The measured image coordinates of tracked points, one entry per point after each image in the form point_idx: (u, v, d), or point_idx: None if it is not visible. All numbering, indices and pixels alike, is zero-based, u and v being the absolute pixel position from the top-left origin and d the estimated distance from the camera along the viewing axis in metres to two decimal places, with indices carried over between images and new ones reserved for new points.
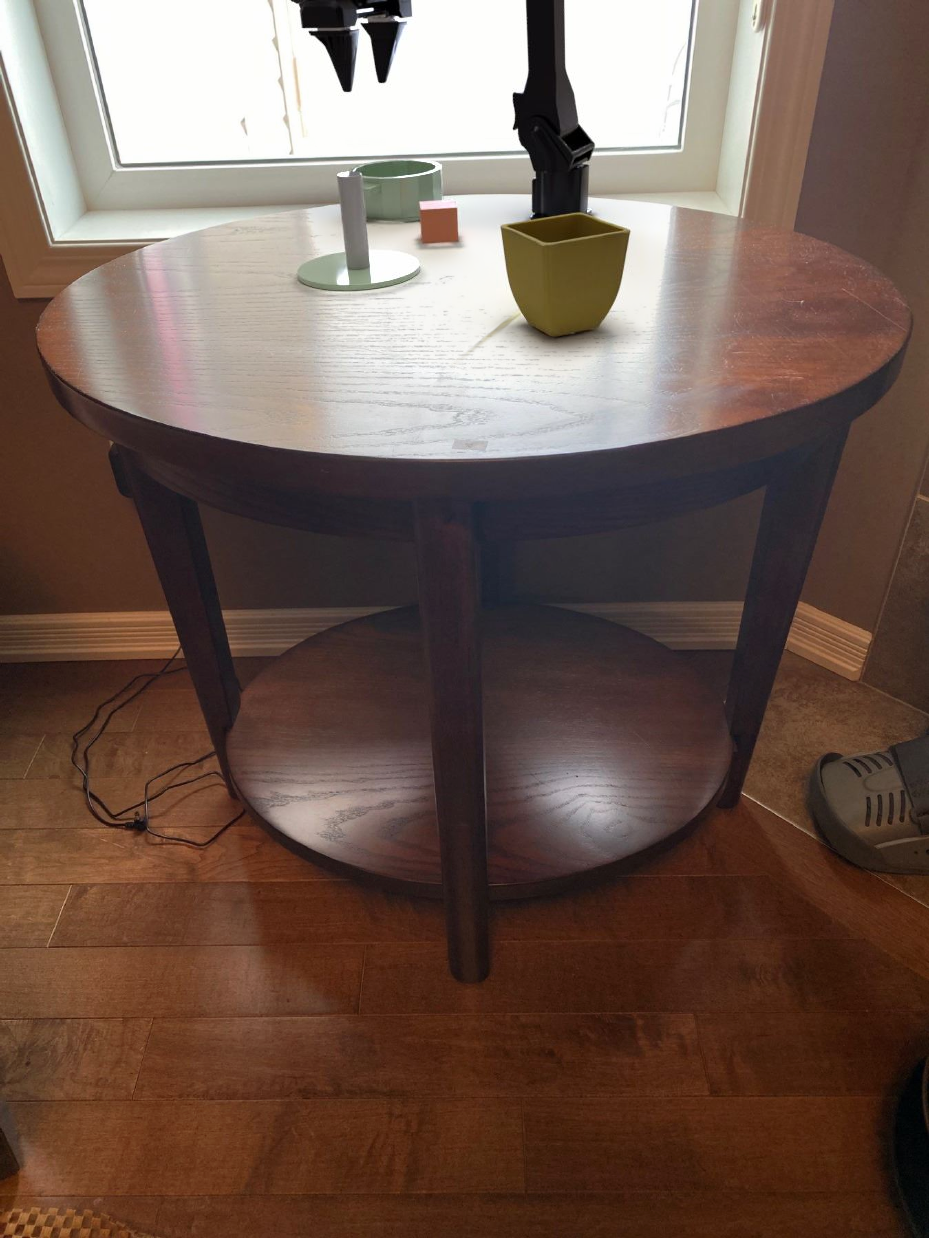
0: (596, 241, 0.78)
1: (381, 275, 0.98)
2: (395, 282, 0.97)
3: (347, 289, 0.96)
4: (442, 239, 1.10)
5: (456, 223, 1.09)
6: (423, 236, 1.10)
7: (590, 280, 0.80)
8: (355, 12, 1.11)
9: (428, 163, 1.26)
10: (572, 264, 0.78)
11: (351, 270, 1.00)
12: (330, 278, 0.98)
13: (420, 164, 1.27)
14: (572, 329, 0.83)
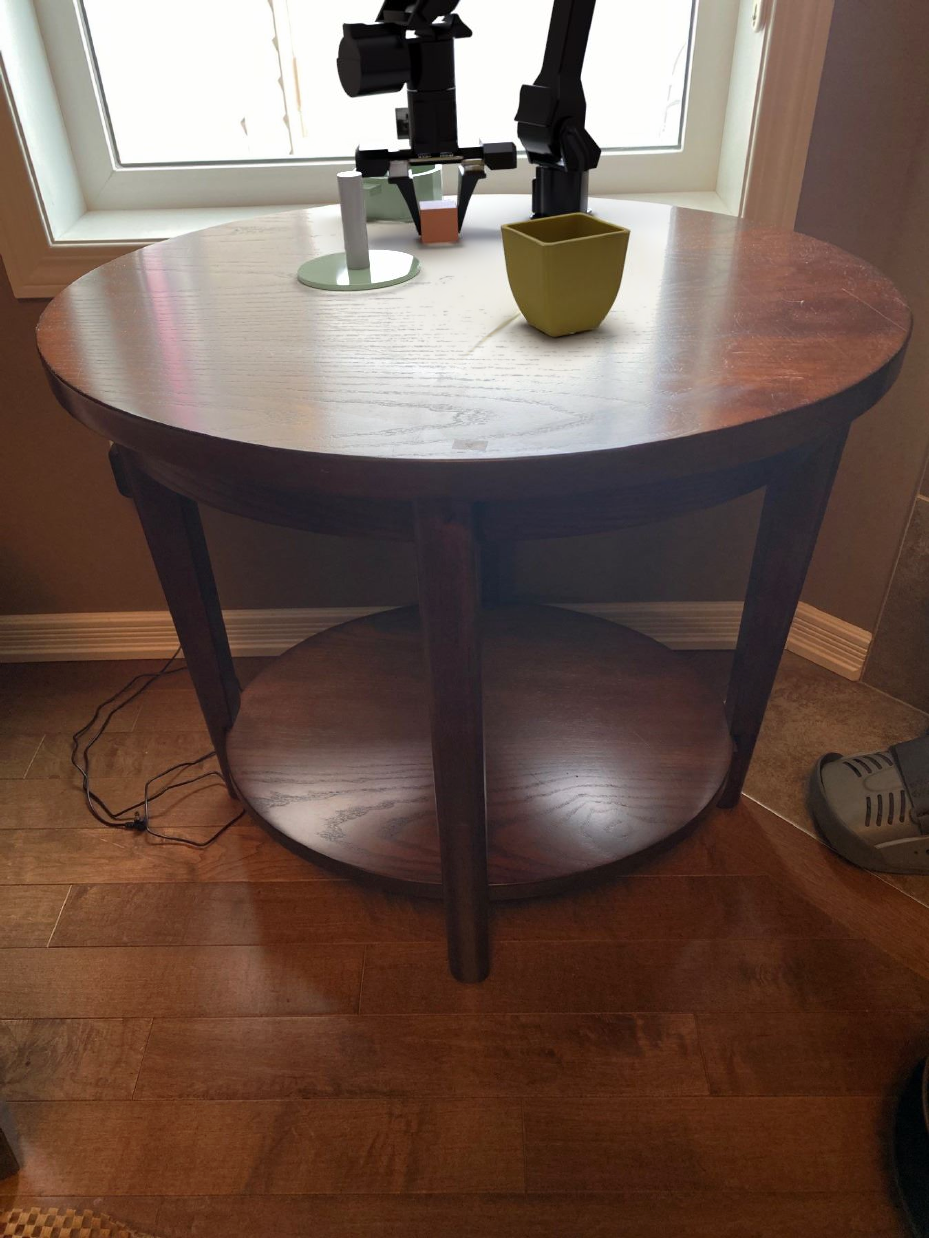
0: (596, 241, 0.78)
1: (381, 275, 0.98)
2: (395, 282, 0.97)
3: (347, 289, 0.96)
4: (442, 239, 1.10)
5: (456, 223, 1.09)
6: (423, 236, 1.10)
7: (590, 280, 0.80)
8: (385, 163, 1.04)
9: None
10: (572, 264, 0.78)
11: (351, 270, 1.00)
12: (330, 278, 0.98)
13: None
14: (572, 329, 0.83)
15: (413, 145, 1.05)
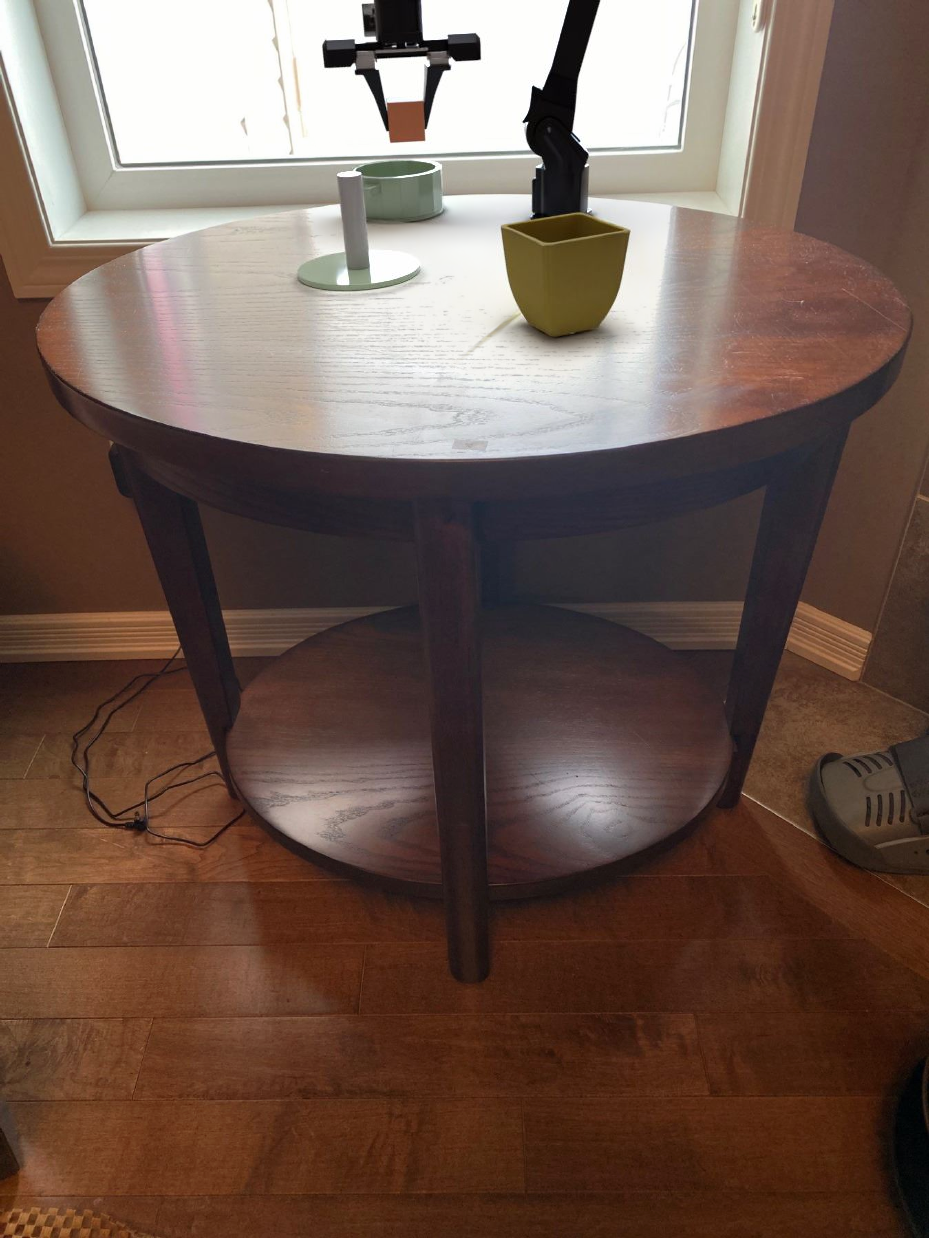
0: (596, 241, 0.78)
1: (381, 275, 0.98)
2: (395, 282, 0.97)
3: (347, 289, 0.96)
4: (409, 134, 1.13)
5: (422, 117, 1.12)
6: (390, 130, 1.12)
7: (590, 280, 0.80)
8: (352, 53, 1.06)
9: (428, 163, 1.26)
10: (572, 264, 0.78)
11: (351, 270, 1.00)
12: (330, 278, 0.98)
13: (420, 164, 1.27)
14: (572, 329, 0.83)
15: (379, 36, 1.07)
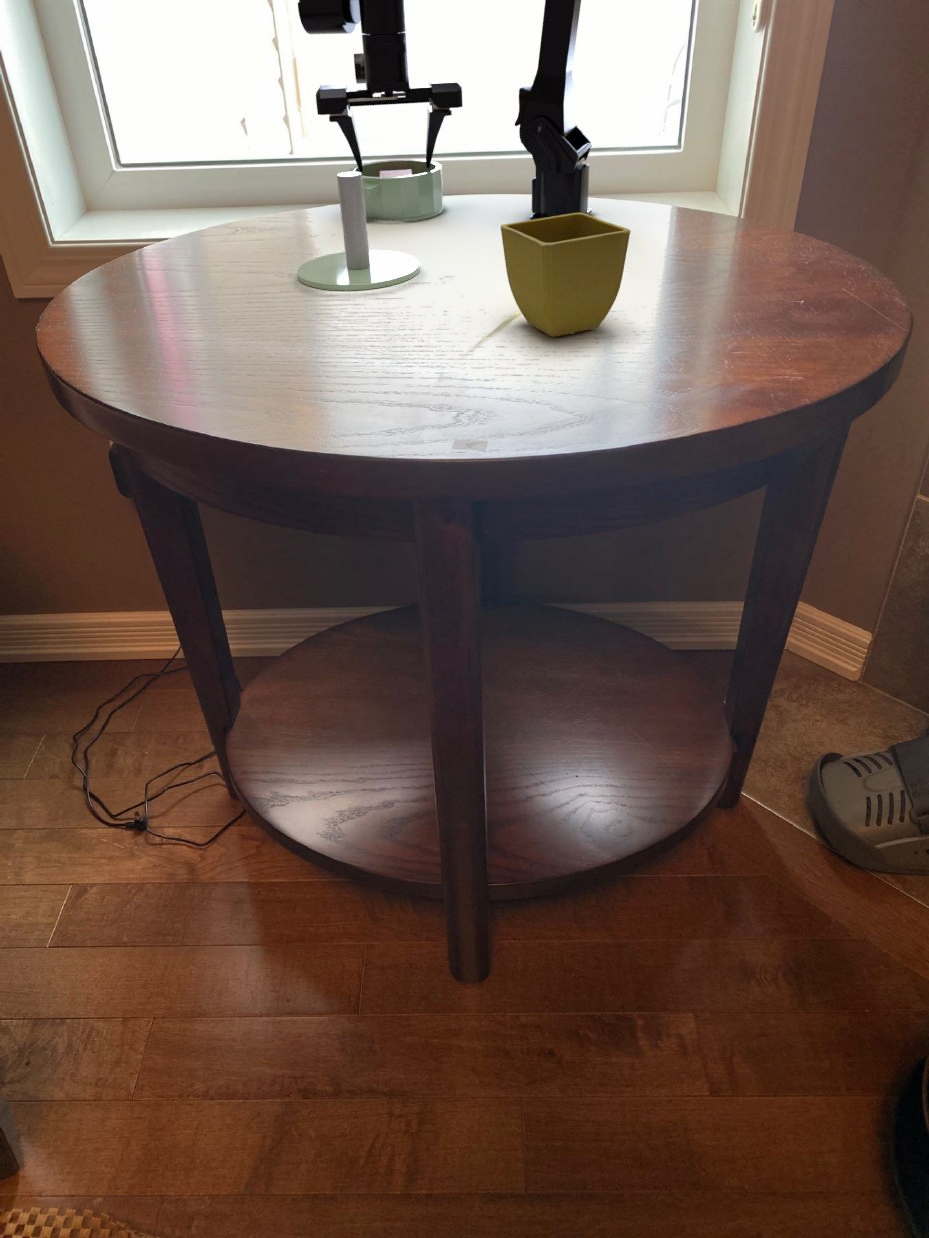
0: (596, 241, 0.78)
1: (381, 275, 0.98)
2: (395, 282, 0.97)
3: (347, 289, 0.96)
4: None
5: None
6: None
7: (590, 280, 0.80)
8: (343, 101, 1.15)
9: None
10: (572, 264, 0.78)
11: (351, 270, 1.00)
12: (330, 278, 0.98)
13: (420, 164, 1.27)
14: (572, 329, 0.83)
15: (368, 85, 1.16)
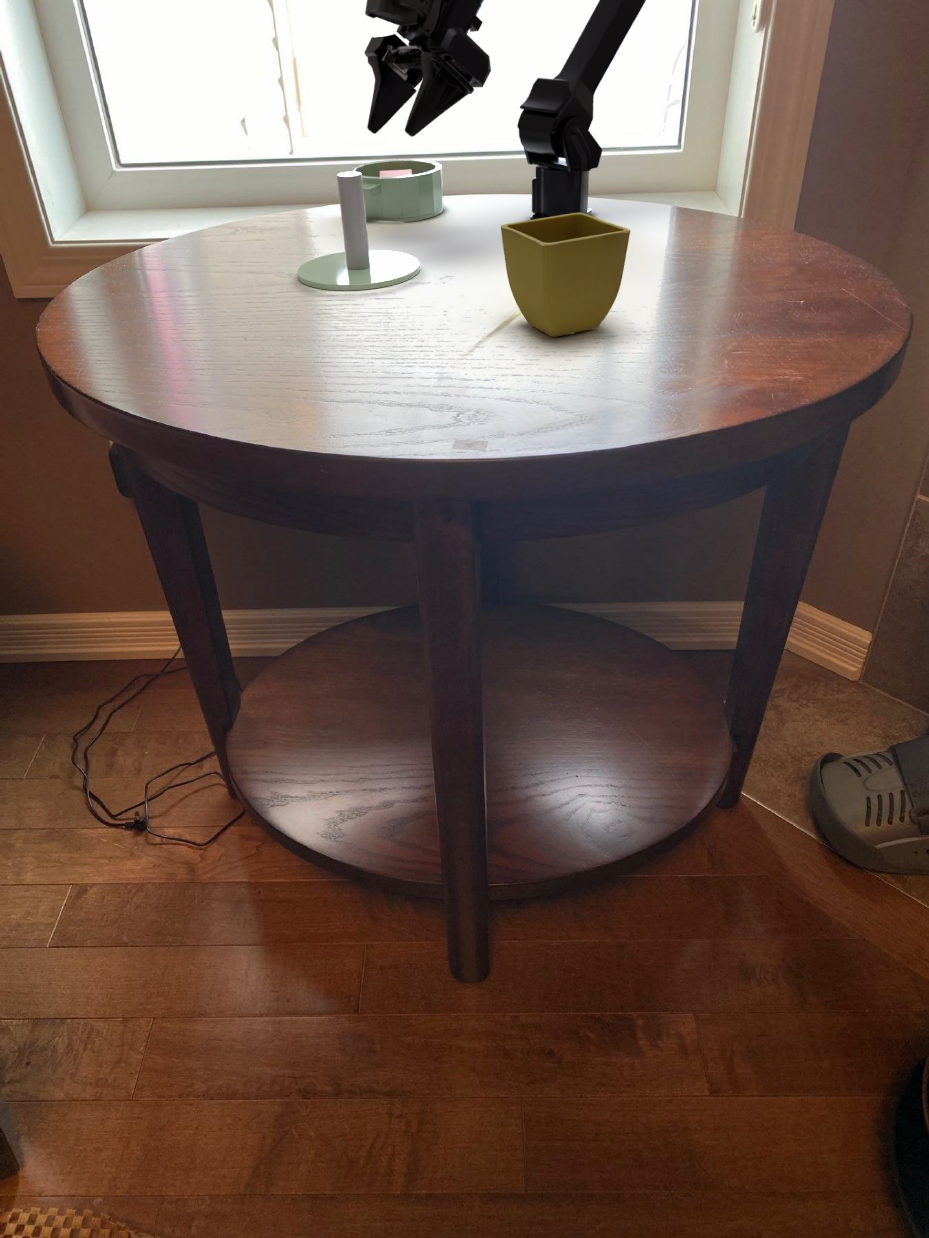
0: (596, 241, 0.78)
1: (381, 275, 0.98)
2: (395, 282, 0.97)
3: (347, 289, 0.96)
4: None
5: None
6: None
7: (590, 280, 0.80)
8: None
9: (428, 163, 1.26)
10: (572, 264, 0.78)
11: (351, 270, 1.00)
12: (330, 278, 0.98)
13: (420, 164, 1.27)
14: (572, 329, 0.83)
15: None
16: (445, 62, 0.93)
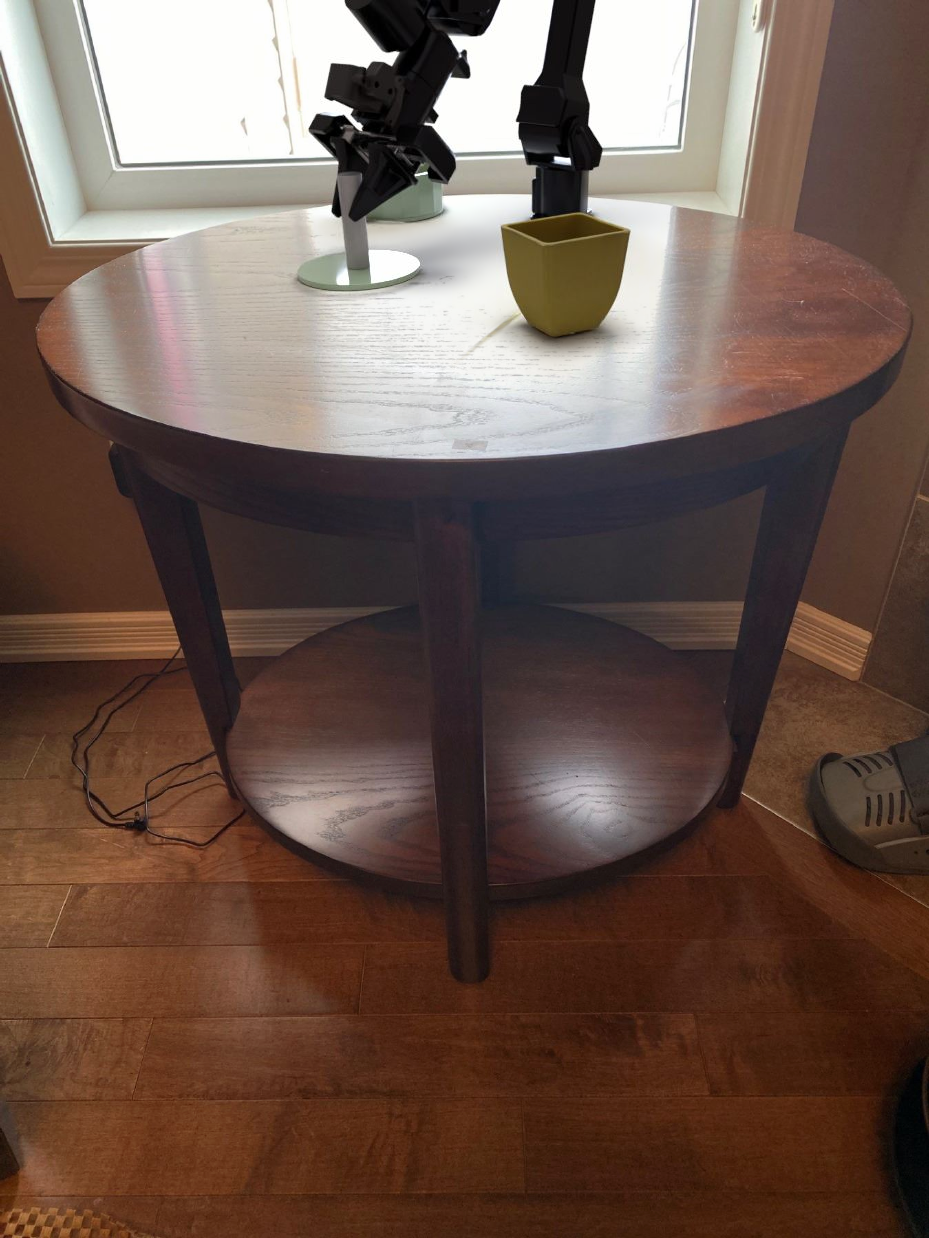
0: (596, 241, 0.78)
1: (381, 275, 0.98)
2: (395, 282, 0.97)
3: (347, 289, 0.96)
4: None
5: None
6: None
7: (590, 280, 0.80)
8: None
9: None
10: (572, 264, 0.78)
11: (351, 270, 1.00)
12: (330, 278, 0.98)
13: None
14: (572, 329, 0.83)
15: None
16: (395, 155, 0.93)
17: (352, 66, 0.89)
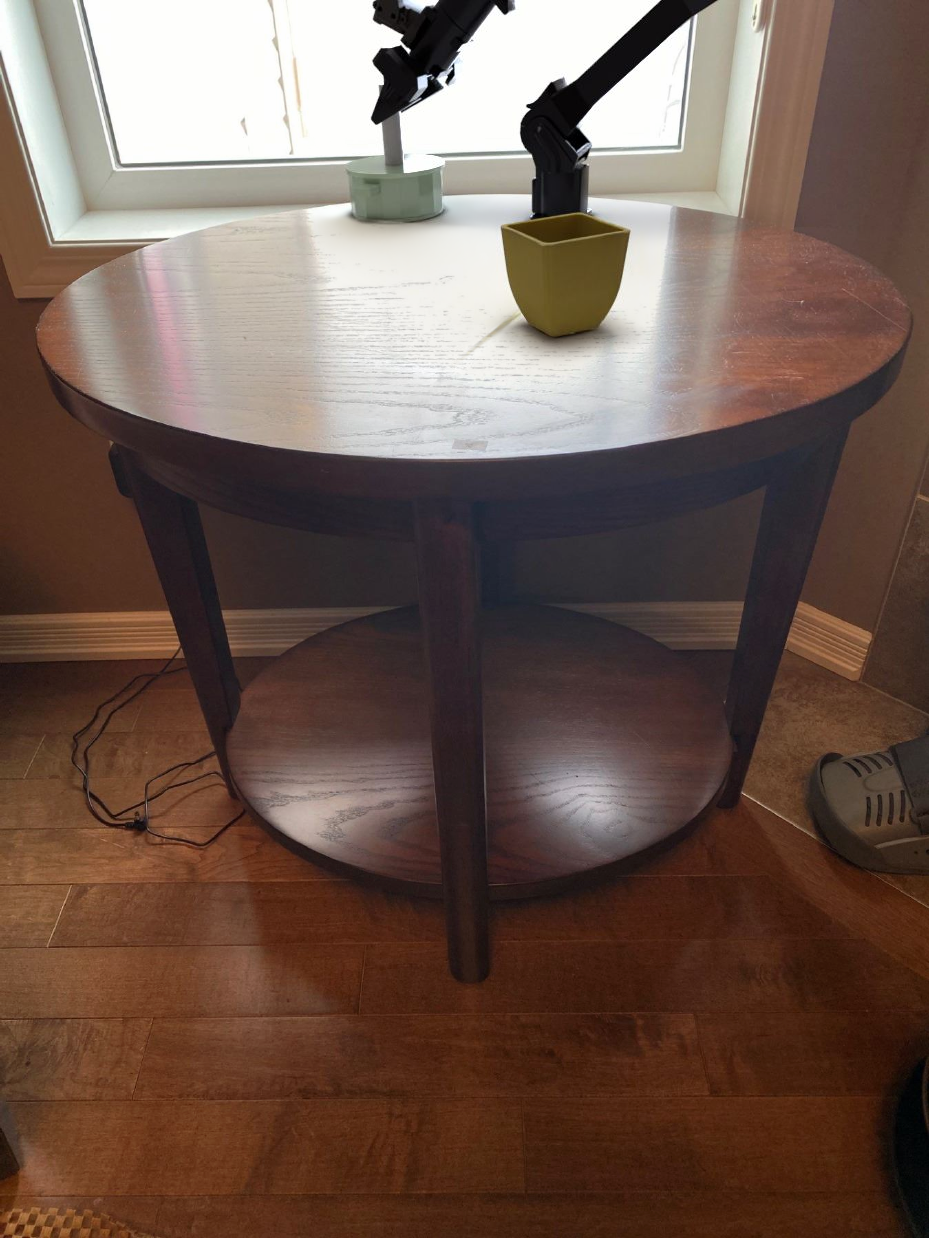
0: (596, 241, 0.78)
1: (377, 170, 1.19)
2: (373, 177, 1.18)
3: (347, 173, 1.21)
4: None
5: None
6: None
7: (590, 280, 0.80)
8: (424, 89, 1.11)
9: None
10: (572, 264, 0.78)
11: (383, 164, 1.23)
12: (358, 164, 1.23)
13: None
14: (572, 329, 0.83)
15: (429, 65, 1.12)
16: None
17: None
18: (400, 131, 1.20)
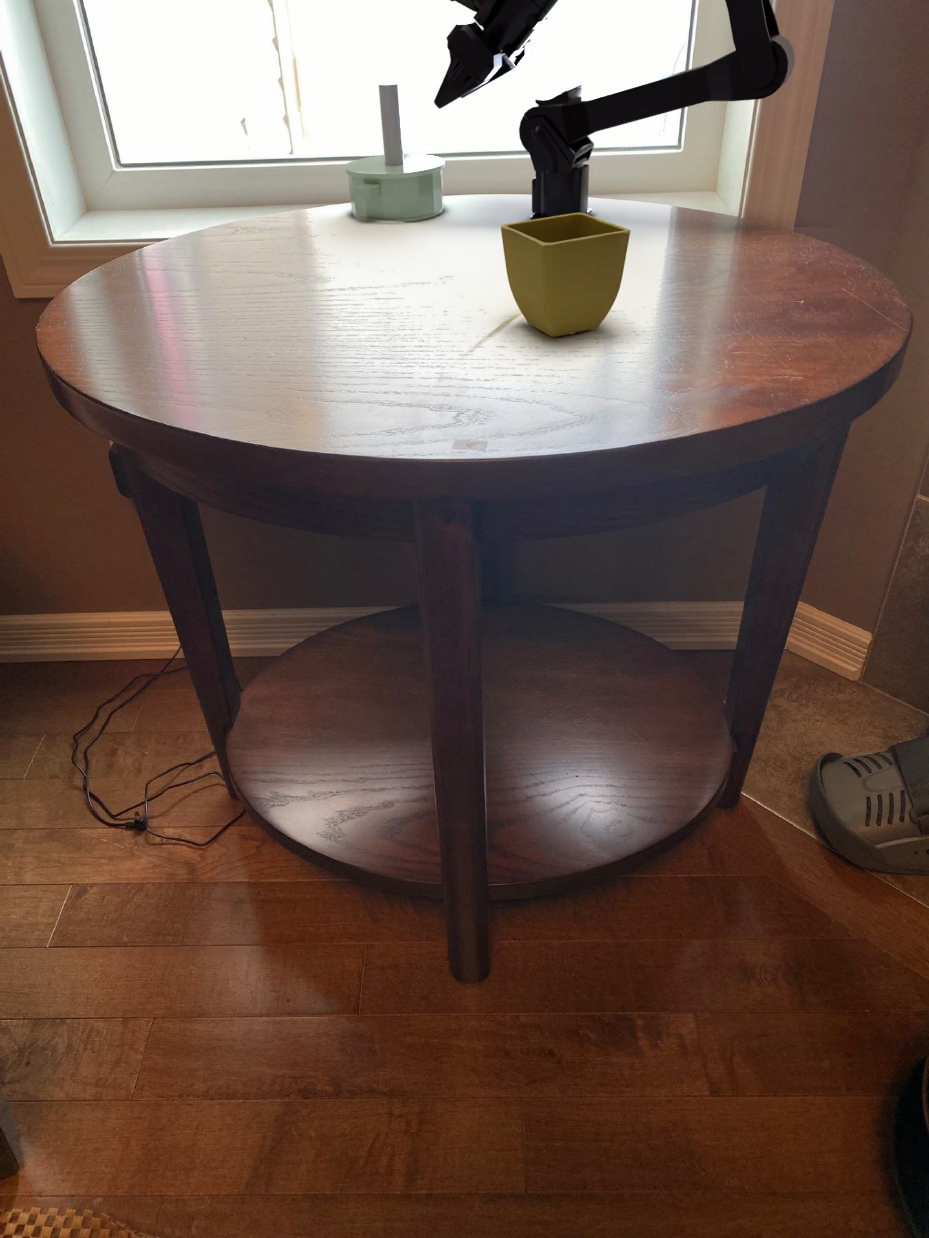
0: (596, 241, 0.78)
1: (377, 170, 1.19)
2: (373, 177, 1.18)
3: (347, 173, 1.21)
4: None
5: None
6: None
7: (590, 280, 0.80)
8: (498, 69, 1.07)
9: None
10: (572, 264, 0.78)
11: (383, 164, 1.23)
12: (358, 164, 1.23)
13: None
14: (572, 329, 0.83)
15: (503, 43, 1.09)
16: (456, 52, 1.06)
17: None
18: (400, 131, 1.20)
